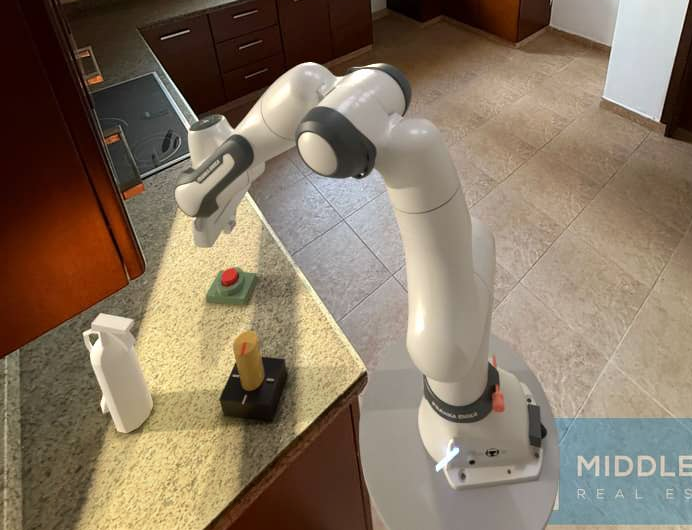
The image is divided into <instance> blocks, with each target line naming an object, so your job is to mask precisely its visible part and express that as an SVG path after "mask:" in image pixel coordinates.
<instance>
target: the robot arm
mask: <svg viewBox="0 0 692 530" xmlns="http://www.w3.org/2000/svg"><path fill="white" fill-rule="evenodd" d="M412 91H413V90H412V86H411V82H410V81H409V79H408V77H407V76H406V74H405V73H403V71H401V70H400V69H399V68H398V67H397V66H394V65H392V64H389V63H381V62H380V63H379V62H378V63H372V64H369V65H365V66H353V67H349V68H348V69H347V71H346V73H345V75H344V76H336V75H334V74H333V73H332V71H330V70H329V69H328V68H327V67H325V66H323V65H322V64H319V63H316V62H304V63H300V64H298V65H296V66H294V67H292V68H291V69H289V70H288V71H286V72H285V73H283V74H282V75H281V76H279V77H278V78H277V79H276V80H275V81H274V82H273V83H272V84H270V86H269V87H268V88H267V89H266V91H264V92H263V94H262V95H261V96H260V98H259V99H258V100H257V101H256V103H255V104H254V105H253V107H252V108H251V109H250V110H249V112H248V113H247V114H246V116H245V117H244V118H243V119H242V120H241V121H240V122H239V123H238V125H237V126H236V127H235V128H233V127H232V126H231V125H230V123H229V122H228V120H227V118H226V117H225V116H224V115H223V114H211V115H207V116H205V117H203V118H201V119H199V120H197V121H195V122H194V123H192V124H191V126H189V128H188V130H187V143H188V150H189V157H190V160H191V163H192V165H193V166H190V167H188V168H187V169H185V170H183V171H182V172H180V173H179V174H178V176H177V179H176V182H175V185H174V189H173V197H174V200H175V203H176V205H177V207H178V209H179V210H180V211H181V212H182V213H183V214H184V215H185V216H187V217H189V218H192V220H191V221H192V222H191V228H192V229H191V231H192V237H193V243H194V246H195V247H197V248H202V249H203V248H204V249H210V248H212V247H214V245H215V243H216V242H217V240H218V238H219V237H220V235H221V234H222V233H223V234H224V235H230V234H231V233H232V231H233V230H234V228H235V227H236V225H237V221H236V220H237V219H236V217H237V211H238V206H239V205H240V204H241V202H242V200H243V199H244V197H245V196H246V194H247V192H248V190H249V189H250V188H251V186H252V182H254V181H255V180H256V179H257V178H259V177H260V176H261V175H262V174H264V172H265V171H266V169H267V164H268V163H267V162H268V161H269V160H270V159H274V158H275V157H276V156H278V155H280V154H283V153H284V152H286V151H288V150H290V149H292V148H293V147H296V150H297V153H298V155H299V157H300V159H301V161H302V162H303V164H304V165H305V166H306V167H307V168H308V169H309V170H311V172H313V173H315V174H316V175H319V176H321V177H324V178H330V179H338V180H344V179H349V178H353V179H356V180H362V179H365V178H367V177H369V176H370V175H371V174H372V173H373V171H374V170H375V171H377V172H378V173H379V175H380V176H381V178H382V179H383V182H384V185H385V188H386V191H387V195H388V198H389V202H390V204H391V207H392V210H393V213H394V216H395V219H396V223H397V226H398V229H399V233H400V235H401V239H402V244H403V249H404V250H403V251H404V257H405V258H404V261H405V272H406V286H407V298H408V302H407V303H408V315H407V316H408V317H407V329H406V334H407V340H406V345H407V350H408V352H409V355H410V357H411V359H412V361H413V362H414V364H415V365H416V366H417V368H418V369H419V370H420V371H421V372H422V384H423V391H424V396H423V398H422V400H421V403H420V407H419V413H418V425H419V431H420V435H421V439H422V441H423V444H424V446H425V448H426V449H427V451H428V453H429V454H430V455H431V457H432V458H433V459H434V460H435V461H436V462H437V463H438V465H436V470H437V471H439V470H440V469H441V468H442V469H443V471H444V473H445V475H446V478H447V480H448V482H449V484H450V485H451V487H452V488H453V489H455V490H465V489H472V488H480V487H487V486H495V485H503V484H510V483H518V482H526V481H533V480H536V479H538V478H539V475H540V473H541V470H542V465H543V453H544V449H543V439H544V438H545V437H546V435H547V430H546V428H545V427H544V425H543V424H542V423H541V419H540V406H536V403H535V400H534V398H533V396H532V394H531V392H530V390H529V389H528V387H527V386H526V385H525V384H524V383H521V382H519V380H518V379H517V378H516V376H514V375H513V374H511V373H509V372H507V371H505V370H503V369H501V368H499V367H498V366H497V364H496V359H495V355H494V354H493V359H492V358H489V339H490V332H491V330H492V329H491V328H492V319H493V318H492V317H493V307H494V294H495V284H496V283H495V282H496V268H497V252H496V250H497V249H496V239H495V234H494V233H493V232H492V230H491V228H490V227H489V226H488V225H487V224H486V223H485V222H483V221H482V220H480V219H479V218H476V217H475V216H471V215H470V211H469V207H468V203H467V200H466V197H465V194H464V190H463V186H462V183H461V180H460V177H459V174H458V171H457V168H456V167H457V166H456V165H455V162H454V160H453V159H454V158H453V157H452V155H451V152H450V149H449V148H448V145H447V143H446V141H445V139H444V138H443V136H442V134H441V132H440V130H439V128H438V127H437V126H436V125H435V124H434V123H433V122H432V121H430V120H429V119H427V118H423V117H419V116H411V117H404V116H405V115H406V113H407V112H408V110H409V107H410V105H411V102H412V98H413V97H412V96H413V92H412ZM527 400H529V401H531V403H528V402H527ZM534 455H538V456H539V458H536V457H535V456H534ZM508 473H510V474H508ZM461 476H465V477H466V479H465V480H462V479H461Z"/></svg>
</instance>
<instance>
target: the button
mask: <svg viewBox="0 0 692 530" xmlns="http://www.w3.org/2000/svg"><path fill="white" fill-rule="evenodd" d="M229 268H230V269H229ZM229 268H227V269H228V270H226V269H225V270H226V271H225V270H224V271H225V272H224V273H223V274H222V282H223V285H224V286H231V285H233V284H235V283H236V282H237V280H238V274H237V270H236V269H234V268H232V267H229Z"/></svg>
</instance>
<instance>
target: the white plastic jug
mask: <svg viewBox="0 0 692 530" xmlns="http://www.w3.org/2000/svg"><path fill="white" fill-rule="evenodd" d="M134 325H135V320H134V319H133V318H128V317H123V316H118V315H113V314H107V313H102V312H100V313H99V314H98V315H97V316H96V318H95V319H93V321H92V322H91V325H90V326H91V327H90V329H88V330H85V331H83V332H82V335H83V340H84V344H85V347H86V349H87V351H88V352H89V357H90V363H91V367H92V369H93V372H94V375H95V377H96V380H97V382H98V385H99V387H100V390H101V392H102V397H101V400H100V404H99V405H100V408H101V410H102V414H106V413H109V414H110V415H111V418H112V420H113V423H114V426H115V429H116V432H120V433H123V434H128V433H130V432H132V431H135V430H137V429H139V428H140V427H141V426H142V424H144V422H145V421H146V420H147V419H148V418H149V416H150V414H151V412H152V409H153V407H154V401H153V398H152V394H151V391H150V388H149V386H148V383H147V380H146V377H145V374H144V372H143V368H142V365H141V362H140V360H139V357H138V353H137V351H136V348H135V343H136V342H137V340H136V338H135V336H134V335H133V334H132V332H130V331H131V329H132V328H133V326H134ZM92 334H96V335H98V339H96V341H95V342H94V344H92V343H91V342H90V337H89V335H92Z"/></svg>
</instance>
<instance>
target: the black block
mask: <svg viewBox="0 0 692 530" xmlns="http://www.w3.org/2000/svg"><path fill="white" fill-rule="evenodd" d="M260 354H261V358H262V363H263V368H264V373H265V375H264V379H263V382H262V383H261V385H260V386H259V387H258V388H256V389H255V390H252V391H247V390H245V389H243V387H242V384H241V380H240V376H239V372H238V368H237V363H236V361H235V362H234V364H233V367H232V369H231V372H230V374H229V376H228V378H227V381H226V383H225V385H224V388H223V390H222V392H221V394H220V397H219V399H218V400H219V403H220V407H221V411H222V414H223V417H228V418H236V419H244V420H251V421H253V420H254V421H259V422H260V421H261V422H267V423H268V422H269V423H273V421H274V418H275V416H276V413H277V409H278V407H279V403H280V400H281V397H282V394H283V391H284V388H285V385H286V381H287V379H288V375H289V374H288V370H287V364H286V359H285V358H279V357H269V356H264V354H262V353H260Z"/></svg>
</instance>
